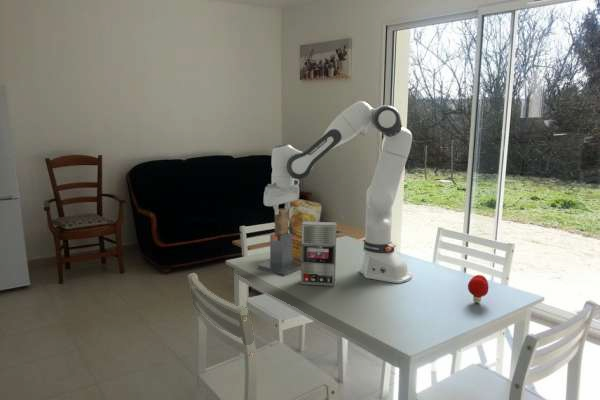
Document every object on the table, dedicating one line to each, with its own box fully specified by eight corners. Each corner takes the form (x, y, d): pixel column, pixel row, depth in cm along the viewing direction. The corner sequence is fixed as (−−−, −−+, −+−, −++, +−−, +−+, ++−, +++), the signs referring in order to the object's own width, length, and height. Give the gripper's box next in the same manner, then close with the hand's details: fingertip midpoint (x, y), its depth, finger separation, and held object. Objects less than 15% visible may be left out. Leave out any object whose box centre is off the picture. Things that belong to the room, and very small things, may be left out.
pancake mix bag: (292, 252, 231) (293, 197, 226) (322, 260, 219) (323, 202, 214) (283, 255, 226) (283, 198, 221) (312, 263, 214) (314, 204, 209)
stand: (304, 267, 208) (305, 234, 205) (285, 275, 197) (285, 240, 194) (277, 260, 217) (278, 228, 215) (257, 268, 207) (257, 234, 204)
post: (288, 253, 206) (288, 209, 203) (281, 255, 203) (282, 211, 199) (280, 251, 209) (280, 208, 205) (274, 253, 206) (274, 209, 202)
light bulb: (484, 309, 165) (486, 282, 163) (464, 304, 169) (466, 278, 167) (489, 300, 173) (491, 275, 171) (469, 296, 176) (471, 271, 175)
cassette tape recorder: (300, 285, 187) (301, 224, 182) (302, 279, 193) (302, 221, 188) (334, 286, 185) (336, 226, 180) (335, 281, 191) (337, 222, 186)
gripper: (271, 185, 190) (271, 218, 193) (301, 180, 206) (301, 210, 208) (259, 184, 194) (260, 216, 196) (290, 179, 210) (290, 208, 212)
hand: (281, 213), depth 203 cm, fingers closed on post, 4 cm apart
